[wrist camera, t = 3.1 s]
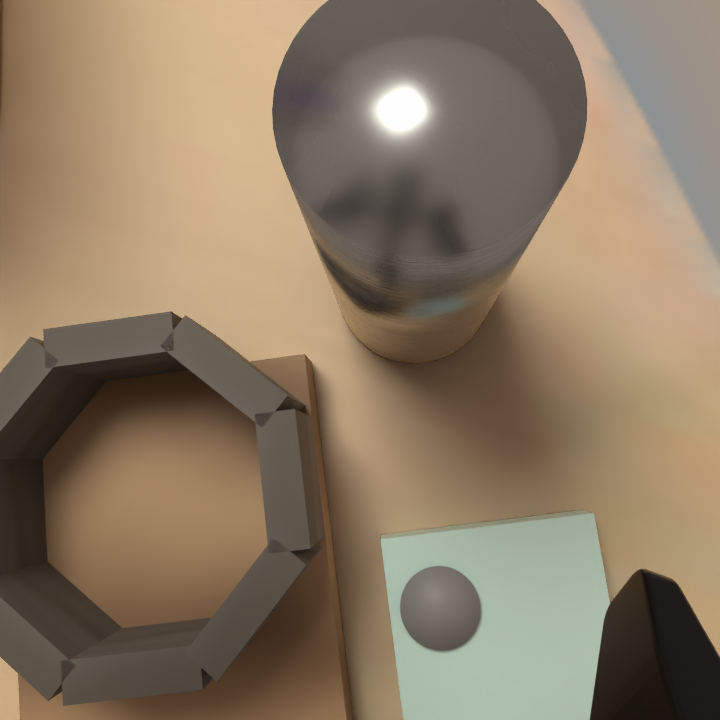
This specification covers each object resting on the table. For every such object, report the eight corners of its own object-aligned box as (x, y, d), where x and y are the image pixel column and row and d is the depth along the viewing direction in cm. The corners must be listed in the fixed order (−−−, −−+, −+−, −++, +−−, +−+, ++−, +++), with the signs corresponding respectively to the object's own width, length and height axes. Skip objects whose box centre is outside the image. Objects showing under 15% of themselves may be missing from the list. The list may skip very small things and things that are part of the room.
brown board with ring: (377, 929, 18) (369, 1078, 14) (61, 959, 19) (-45, 1114, 14) (307, 330, 21) (282, 295, 17) (32, 368, 21) (-65, 344, 17)
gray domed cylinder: (501, 352, 21) (613, 232, 10) (348, 372, 21) (290, 277, 10) (477, 205, 21) (557, -58, 10) (330, 226, 22) (257, -11, 11)
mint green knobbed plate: (648, 882, 18) (667, 915, 17) (429, 903, 18) (430, 938, 17) (582, 509, 20) (595, 513, 18) (381, 534, 20) (380, 540, 19)
